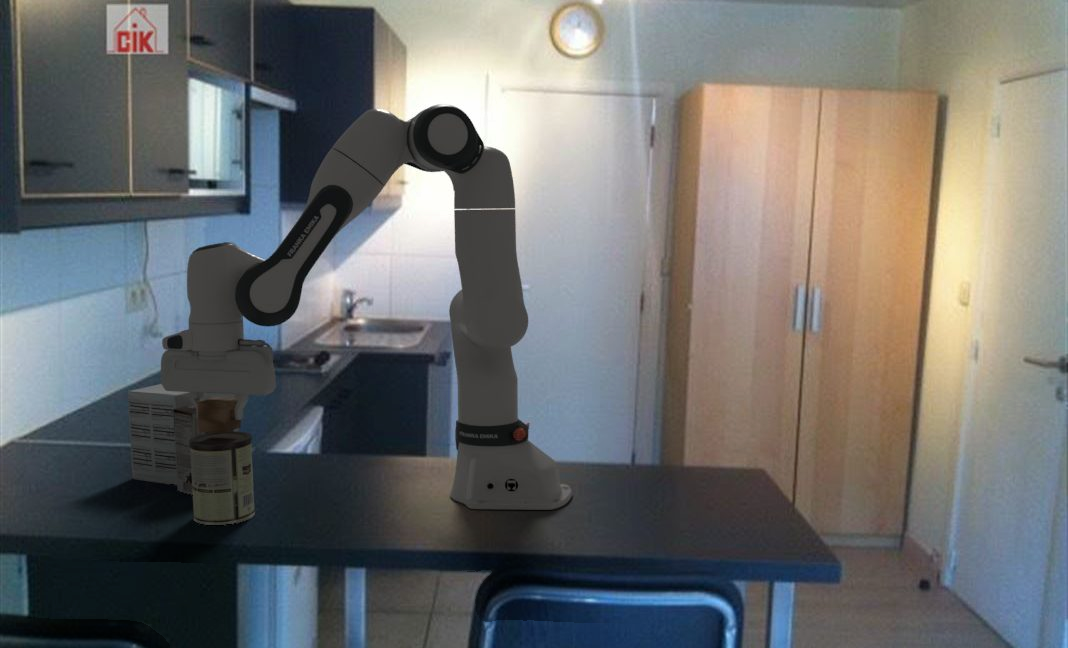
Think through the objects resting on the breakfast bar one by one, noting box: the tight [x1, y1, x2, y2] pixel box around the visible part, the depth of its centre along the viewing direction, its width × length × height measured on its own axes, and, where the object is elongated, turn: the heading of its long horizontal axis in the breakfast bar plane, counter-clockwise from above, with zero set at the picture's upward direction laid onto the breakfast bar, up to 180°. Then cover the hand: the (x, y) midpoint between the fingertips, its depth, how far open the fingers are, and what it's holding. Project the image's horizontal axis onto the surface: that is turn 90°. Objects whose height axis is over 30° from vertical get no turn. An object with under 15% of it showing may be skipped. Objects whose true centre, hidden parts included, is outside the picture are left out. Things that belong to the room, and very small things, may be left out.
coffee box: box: [173, 405, 233, 496], centre depth 184 cm, size 9×6×16 cm
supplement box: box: [127, 383, 239, 486], centre depth 196 cm, size 17×13×18 cm
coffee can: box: [189, 430, 256, 526], centre depth 167 cm, size 10×10×14 cm
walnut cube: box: [198, 397, 242, 433], centre depth 165 cm, size 5×5×5 cm
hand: (219, 418), depth 166 cm, fingers closed on walnut cube, 5 cm apart
